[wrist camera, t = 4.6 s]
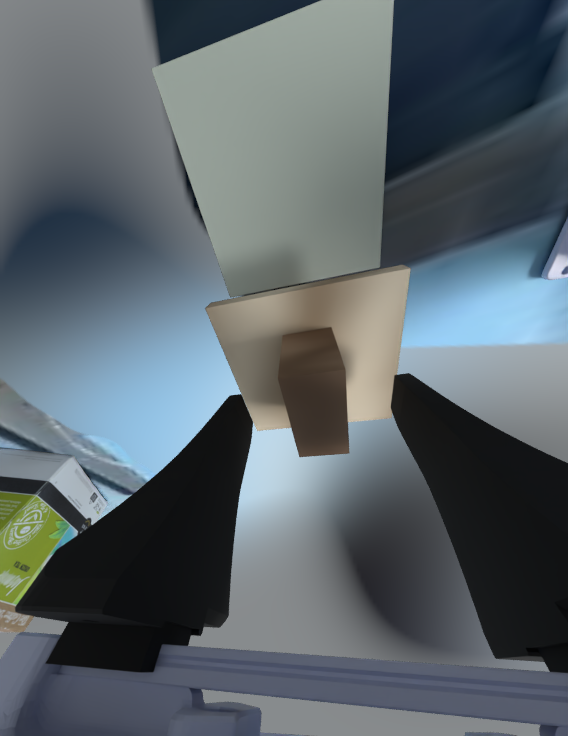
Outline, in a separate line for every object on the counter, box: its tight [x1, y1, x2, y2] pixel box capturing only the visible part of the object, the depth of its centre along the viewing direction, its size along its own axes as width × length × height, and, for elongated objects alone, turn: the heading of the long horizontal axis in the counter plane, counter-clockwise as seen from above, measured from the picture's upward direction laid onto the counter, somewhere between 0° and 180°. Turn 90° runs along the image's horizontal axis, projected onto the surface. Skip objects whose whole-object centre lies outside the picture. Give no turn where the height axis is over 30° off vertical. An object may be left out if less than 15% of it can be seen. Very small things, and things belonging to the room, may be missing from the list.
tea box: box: [0, 448, 108, 632], centre depth 27 cm, size 15×10×15 cm, turn 172°
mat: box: [152, 0, 394, 297], centre depth 11 cm, size 10×10×1 cm
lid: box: [205, 265, 411, 457], centre depth 11 cm, size 9×9×4 cm
